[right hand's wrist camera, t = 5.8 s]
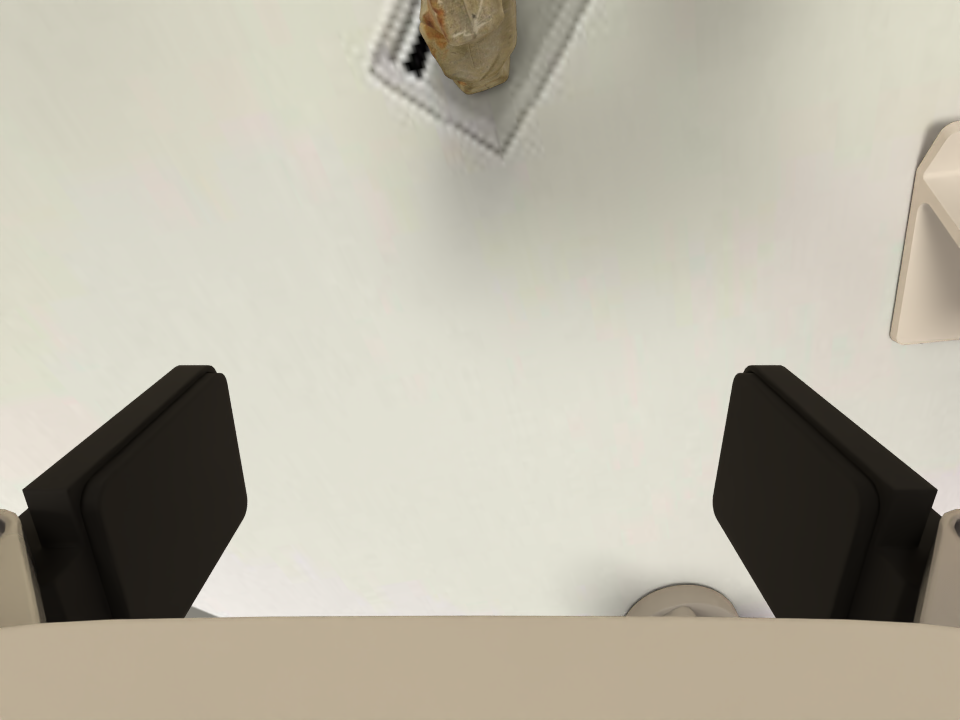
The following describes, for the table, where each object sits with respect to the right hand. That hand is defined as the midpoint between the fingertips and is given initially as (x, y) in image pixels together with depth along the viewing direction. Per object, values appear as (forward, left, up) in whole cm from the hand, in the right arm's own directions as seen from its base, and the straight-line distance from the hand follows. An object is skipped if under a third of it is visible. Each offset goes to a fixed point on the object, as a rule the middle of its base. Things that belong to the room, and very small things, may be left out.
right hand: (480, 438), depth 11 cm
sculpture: (-4, -10, -39) cm, 41 cm away
